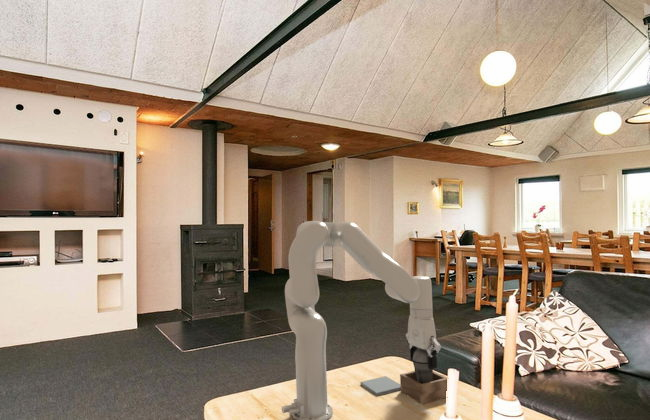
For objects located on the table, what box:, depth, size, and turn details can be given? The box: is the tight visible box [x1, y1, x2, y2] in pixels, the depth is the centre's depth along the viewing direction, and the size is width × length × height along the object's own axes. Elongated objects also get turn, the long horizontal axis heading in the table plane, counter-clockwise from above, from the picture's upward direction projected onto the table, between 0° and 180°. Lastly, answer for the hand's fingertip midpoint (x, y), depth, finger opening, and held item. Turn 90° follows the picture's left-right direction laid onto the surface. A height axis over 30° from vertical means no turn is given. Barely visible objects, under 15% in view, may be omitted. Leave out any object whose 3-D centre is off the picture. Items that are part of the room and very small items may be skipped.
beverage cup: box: [412, 348, 434, 384], centre depth 139 cm, size 7×7×20 cm
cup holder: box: [399, 370, 448, 405], centre depth 138 cm, size 11×11×6 cm
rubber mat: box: [360, 375, 401, 397], centre depth 146 cm, size 11×11×1 cm
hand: (423, 364), depth 139 cm, fingers open, 8 cm apart
